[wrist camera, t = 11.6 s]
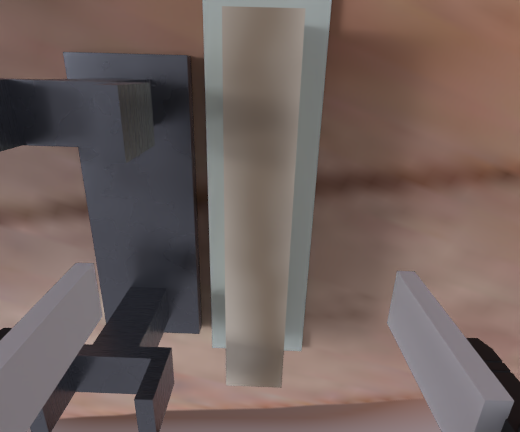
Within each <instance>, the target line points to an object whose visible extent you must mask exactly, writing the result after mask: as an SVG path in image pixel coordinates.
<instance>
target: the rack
mask: <svg viewBox="0 0 520 432" xmlns="http://www.w3.org/2000/svg"><path fill="white" fill-rule="evenodd" d="M63 55H64V61H65V68H66V74H67V79H49V80H40V79H5V78H0V151H4V150H7V149H11V148H14V147H18V146H21V145H34V146H66V147H78V149H79V156H80V162H81V168H82V174H83V181H84V187H85V193H86V199H87V206H88V212H89V218H90V225H91V231H92V237H93V243H94V250H95V256H96V262H97V268H98V275H99V281H100V287H101V294H102V300H103V306H104V312H105V319H106V325H105V327H104V328H103V330H102V331H101V333H100V334H99V336H98V337H97V339H96V340H95V342H94V343H93V345H86V344H84V345H83V347H82V348H81V350H80V351H79V353H78V354H77V356H76V357H75V359H74V360H73V362H72V363H71V365H70V366H69V368H68V369H67V371H66V373H65V374H64V376H63V377H62V379H61V380H60V382H59V383H58V385H57V386H56V388H55V389H54V391H53V392H52V394H51V396H50V397H49V399H48V400H47V402H46V403H45V405H44V406H43V408H42V409H41V411H40V412H39V414H38V415H37V417H36V418H35V420H34V422H33V423H32V425H31V426H30V429H31V432H51V431H52V429H53V428H54V426H55V424H56V423H57V421H58V420H59V418H60V416H61V415H62V413H63V411H64V410H65V408H66V406H67V405H68V403H69V402H70V400H71V398H72V397H73V395H74V393H75V392H96V393H121V394H136V396H135V399H134V401H135V409H136V416H137V423H138V430H139V432H159V431H160V428H161V425H162V421H163V418H164V415H165V412H166V408H167V405H168V402H169V399H170V396H171V392H172V389H173V386H174V373H173V361H172V349H171V348H164V347H158V345H159V342H160V340H161V338H162V335H163V333H164V332H167V333H193V334H199V333H200V329H201V326H202V318H201V294H200V269H199V245H198V220H197V195H196V171H195V146H194V122H193V97H192V73H191V56H188V55H155V54H119V53H82V52H63Z"/></svg>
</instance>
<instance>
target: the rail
mask: <svg viewBox="0 0 520 432" xmlns="http://www.w3.org/2000/svg"><path fill="white" fill-rule="evenodd" d="M305 9H306V8H273V7H234V6H222V58H223V148H224V238H225V328H226V385H230V386H255V387H280V388H281V386H282V370H283V355H284V339H285V323H286V307H287V292H288V276H289V260H290V245H291V229H292V213H293V197H294V182H295V166H296V150H297V134H298V119H299V103H300V87H301V72H302V56H303V40H304V24H305Z"/></svg>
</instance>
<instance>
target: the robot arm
mask: <svg viewBox="0 0 520 432" xmlns="http://www.w3.org/2000/svg"><path fill="white" fill-rule="evenodd" d="M101 317H102V311H101V305H100V299H99V293H98V286H97V280H96V274H95V268H94V263H75V264H74V265H73V266H72V267H71V268H70V269H69V271H68V272H67V273H66V274H65V275H64V276H63V277H62V278H61V279H60V280H59V281H58V282H57V283H56V284H55V285H54V286H53V287H52V288H51V289H50V290H49V291H48V292H47V293H46V294H45V295H44V296H43V297H42V298H41V299H40V300H39V301H38V302H37V303H36V304H35V305H34V306H33V307H32V308H31V310H30V311H29V312H28V313H27V314H26V315H25V316H24V317H23V318H22V319H21V320H20V321H19V322H18V323H17V324H16V325H15V326H14V327H13V328H3V329H1V330H0V432H27V431H28V429H29V428H30V426H31V425H32V423H33V422H34V420H35V418H36V417H37V415H38V414H39V412H40V411H41V409H42V408H43V406H44V405H45V403H46V402H47V400H48V399H49V397H50V396H51V394H52V392H53V391H54V389H55V388H56V386H57V385H58V383H59V382H60V380H61V379H62V377H63V376H64V374H65V373H66V371H67V369H68V368H69V366H70V365H71V363H72V362H73V360H74V359H75V357H76V356H77V354H78V353H79V351H80V350H81V348H82V347H83V345H84V343H85V342H86V340H87V339H88V337H89V336H90V334H91V333H92V331H93V330H94V328H95V327H96V325H97V324H98V322H99V321H100V319H101ZM387 324H388V326H389V328H390V330H391V332H392V334H393V336H394V338H395V340H396V342H397V344H398V346H399V348H400V350H401V352H402V354H403V356H404V358H405V360H406V362H407V364H408V366H409V368H410V370H411V372H412V374H413V376H414V378H415V380H416V382H417V384H418V386H419V388H420V390H421V392H422V394H423V396H424V398H425V400H426V402H427V404H428V406H429V408H430V410H431V411H432V414H433V416H434V417H435V420H436V422H437V424H438V426H439V428H440V430H441V431H442V432H520V382H519V380H518V379H517V378H516V377H515V376H514V374H513V373H510V370H509V368H508V367H507V366H506V365H505V364H504V363H502V360H501V359H500V358H499V357H498V355H497V354H496V353H495V352H494V351H493V349H492V348H490V347H489V346H488V345H486V344H485V343H483V342H482V341H481V340H479V339H478V338H466V337H465V336H464V335H463V334H462V332H461V331H460V330H459V328H458V327H457V326H456V324H455V323H454V322H453V321H452V319H451V318H450V317H449V315H448V314H447V313H446V311H445V310H444V309H443V308H442V306H441V305H440V304H439V302H438V301H437V300H436V298H435V297H434V296H433V295H432V293H431V292H430V291H429V289H428V288H427V287H426V285H425V284H424V283H423V282H422V280H421V279H420V278H419V276H418V275H417V274H416V272H415V271H397V274H396V279H395V284H394V290H393V295H392V300H391V305H390V310H389V316H388V321H387Z"/></svg>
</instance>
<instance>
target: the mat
mask: <svg viewBox="0 0 520 432" xmlns="http://www.w3.org/2000/svg"><path fill="white" fill-rule="evenodd" d="M331 3H332V0H203V32H204V67H205V103H206V138H207V173H208V209H209V244H210V280H211V315H212V348H226V328H225V238H224V148H223V58H222V6H234V7H273V8H306V9H305V24H304V40H303V56H302V72H301V87H300V103H299V119H298V134H297V150H296V166H295V182H294V197H293V213H292V229H291V245H290V260H289V276H288V292H287V307H286V323H285V339H284V350H286V351H301V350H302V338H303V327H304V315H305V304H306V292H307V280H308V269H309V257H310V246H311V234H312V223H313V211H314V199H315V188H316V176H317V165H318V153H319V142H320V130H321V118H322V107H323V95H324V84H325V72H326V60H327V49H328V37H329V26H330V14H331Z"/></svg>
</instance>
